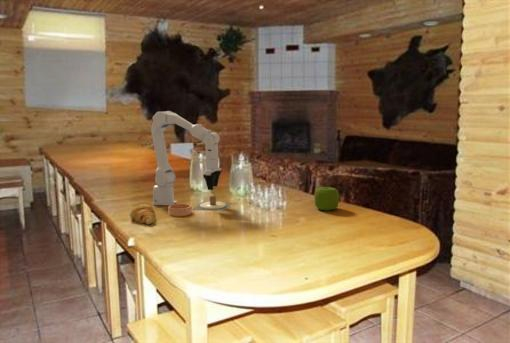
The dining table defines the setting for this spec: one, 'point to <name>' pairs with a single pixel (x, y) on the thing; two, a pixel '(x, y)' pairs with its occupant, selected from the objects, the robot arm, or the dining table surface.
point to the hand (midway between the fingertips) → (212, 188)
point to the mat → (212, 209)
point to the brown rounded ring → (179, 209)
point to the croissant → (143, 214)
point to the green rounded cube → (326, 198)
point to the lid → (212, 204)
